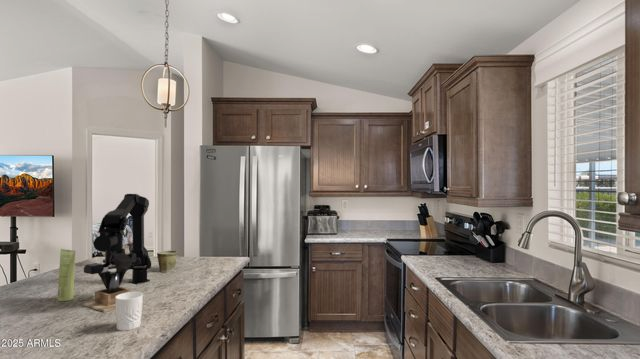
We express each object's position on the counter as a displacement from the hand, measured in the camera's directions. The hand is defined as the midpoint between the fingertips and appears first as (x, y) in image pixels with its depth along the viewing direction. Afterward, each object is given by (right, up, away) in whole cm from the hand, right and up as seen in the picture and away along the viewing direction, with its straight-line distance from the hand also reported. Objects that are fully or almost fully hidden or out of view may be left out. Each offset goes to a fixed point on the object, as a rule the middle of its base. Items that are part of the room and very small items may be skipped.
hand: (113, 287), depth 131 cm
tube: (-20, -6, +3) cm, 21 cm away
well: (0, -6, 0) cm, 6 cm away
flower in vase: (-35, -7, +56) cm, 66 cm away
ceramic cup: (-1, -7, +50) cm, 51 cm away
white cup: (+18, -6, -21) cm, 29 cm away
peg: (0, -4, 0) cm, 4 cm away
